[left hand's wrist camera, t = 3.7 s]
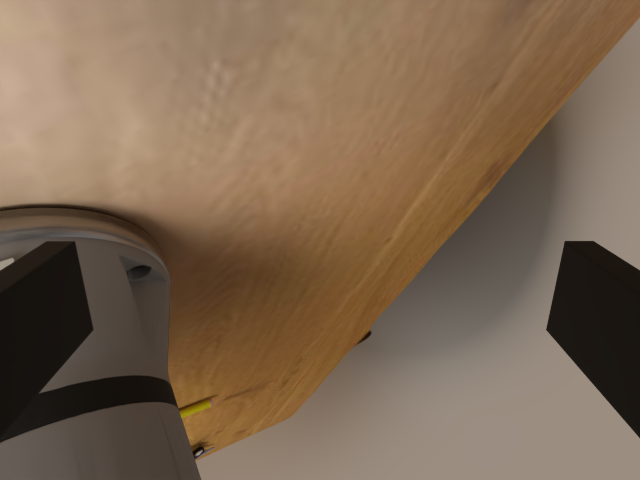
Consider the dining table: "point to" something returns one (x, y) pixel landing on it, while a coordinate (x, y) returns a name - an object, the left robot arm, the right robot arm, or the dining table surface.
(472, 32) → the dining table surface
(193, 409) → the pencil
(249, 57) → the dining table surface
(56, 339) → the left robot arm
